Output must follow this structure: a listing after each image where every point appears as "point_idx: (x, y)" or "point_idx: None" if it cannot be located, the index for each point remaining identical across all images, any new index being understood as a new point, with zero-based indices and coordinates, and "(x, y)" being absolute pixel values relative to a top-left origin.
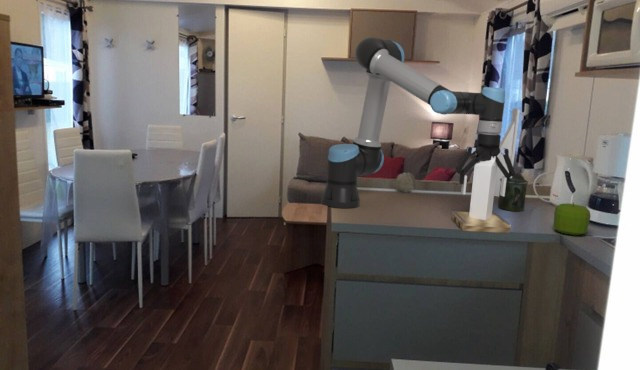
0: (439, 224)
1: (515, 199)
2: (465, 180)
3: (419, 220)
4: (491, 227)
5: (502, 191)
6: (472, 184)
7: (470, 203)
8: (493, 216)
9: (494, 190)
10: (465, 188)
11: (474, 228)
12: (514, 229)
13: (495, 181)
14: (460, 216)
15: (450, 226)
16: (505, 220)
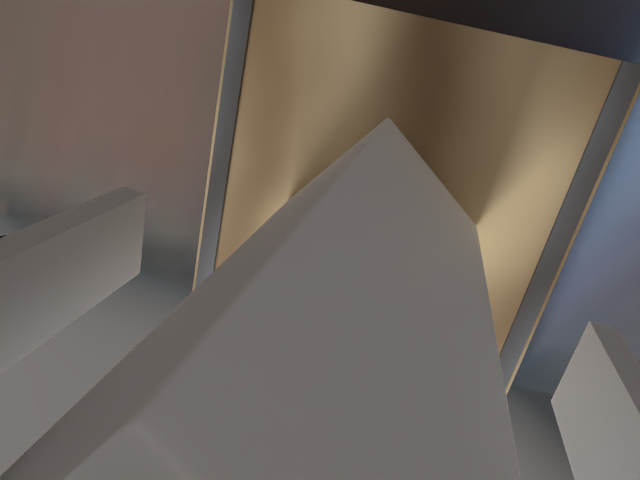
0: (124, 136)
1: None
2: (9, 351)
3: (21, 22)
4: None
5: (569, 427)
6: (152, 330)
7: (248, 238)
8: (531, 184)
9: (497, 352)
10: (95, 301)
11: None
12: (608, 304)
13: (511, 441)
14: (224, 184)
15: (179, 189)
16: (531, 329)
